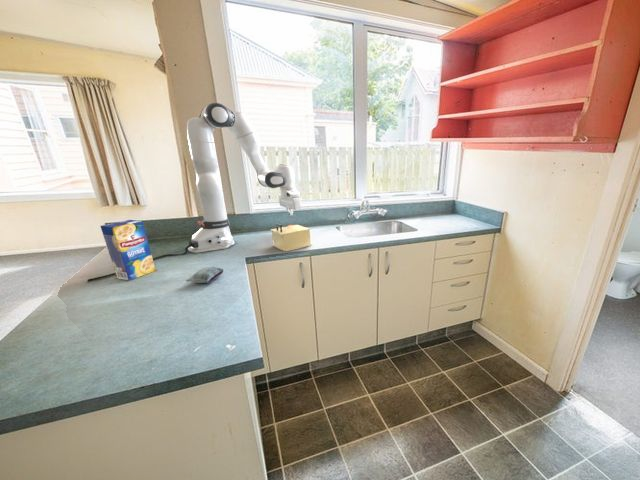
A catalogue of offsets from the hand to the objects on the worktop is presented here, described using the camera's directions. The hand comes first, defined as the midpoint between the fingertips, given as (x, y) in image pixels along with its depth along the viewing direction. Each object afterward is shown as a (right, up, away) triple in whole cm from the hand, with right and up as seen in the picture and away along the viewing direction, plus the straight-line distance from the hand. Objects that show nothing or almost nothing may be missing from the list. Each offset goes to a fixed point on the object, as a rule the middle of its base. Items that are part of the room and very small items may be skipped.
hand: (290, 215), depth 182 cm
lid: (+7, -11, -22) cm, 26 cm away
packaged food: (-15, -35, -62) cm, 73 cm away
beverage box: (-46, -33, -58) cm, 81 cm away
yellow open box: (+7, -20, -19) cm, 28 cm away
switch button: (0, -8, +3) cm, 8 cm away
